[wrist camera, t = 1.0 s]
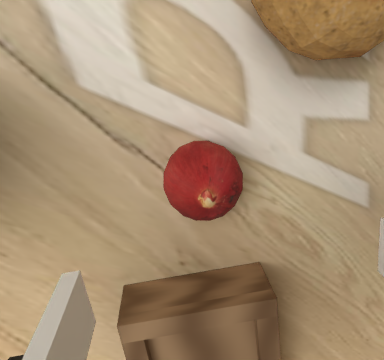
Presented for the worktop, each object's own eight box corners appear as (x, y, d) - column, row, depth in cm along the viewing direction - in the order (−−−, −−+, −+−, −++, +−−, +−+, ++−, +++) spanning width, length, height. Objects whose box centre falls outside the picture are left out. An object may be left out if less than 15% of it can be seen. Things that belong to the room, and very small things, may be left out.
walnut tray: (259, 262, 32) (276, 298, 27) (268, 363, 37) (284, 410, 32) (123, 285, 32) (117, 326, 27) (149, 384, 36) (147, 435, 31)
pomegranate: (243, 146, 28) (272, 178, 21) (215, 206, 30) (233, 255, 22) (178, 121, 27) (185, 145, 20) (153, 184, 29) (150, 228, 21)
